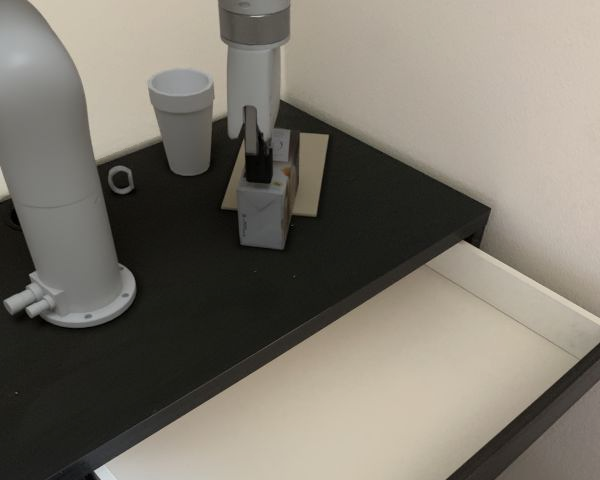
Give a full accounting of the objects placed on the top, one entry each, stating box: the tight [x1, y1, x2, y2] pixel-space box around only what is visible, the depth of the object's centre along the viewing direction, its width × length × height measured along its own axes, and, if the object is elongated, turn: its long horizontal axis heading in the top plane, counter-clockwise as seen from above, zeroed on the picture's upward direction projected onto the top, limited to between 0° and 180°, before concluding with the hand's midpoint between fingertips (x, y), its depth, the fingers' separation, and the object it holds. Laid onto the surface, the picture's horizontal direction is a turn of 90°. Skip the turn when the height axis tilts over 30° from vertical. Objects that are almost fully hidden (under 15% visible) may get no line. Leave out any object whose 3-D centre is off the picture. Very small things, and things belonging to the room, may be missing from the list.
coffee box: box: [236, 126, 301, 250], centre depth 92 cm, size 9×6×16 cm
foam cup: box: [146, 67, 216, 177], centre depth 100 cm, size 10×9×13 cm
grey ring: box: [107, 165, 135, 195], centre depth 98 cm, size 4×2×4 cm, turn 105°
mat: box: [220, 132, 330, 218], centre depth 104 cm, size 24×14×1 cm, turn 174°
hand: (259, 179), depth 84 cm, fingers closed
